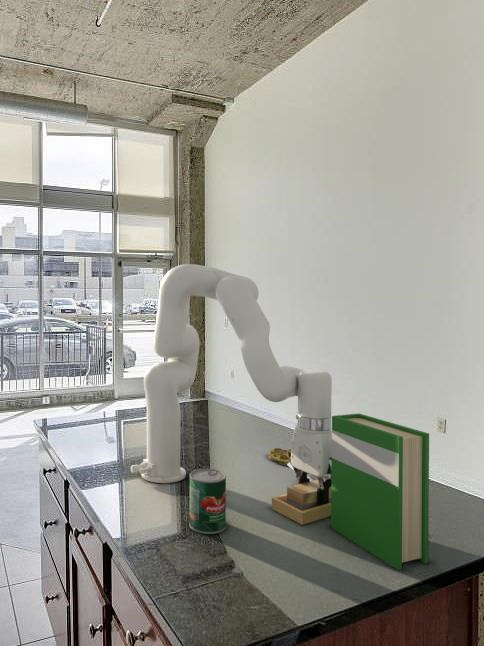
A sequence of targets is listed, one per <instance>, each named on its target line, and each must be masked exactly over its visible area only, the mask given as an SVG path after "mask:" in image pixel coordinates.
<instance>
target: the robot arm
mask: <svg viewBox="0 0 484 646" xmlns="http://www.w3.org/2000/svg"><path fill="white" fill-rule="evenodd" d="M258 287H259V286H258V285H257V284H256V282H255V281H254V280H253V279H252V278H250V277H248V276H243V275H239V274H235V273H232V272H229V271H226V270H221V269H218V268H214V267H212V266H207V265H200V264H194V263H184V264H179V265H176V266H174V267H172V268H171V269H170V270H168V271H167V272H166V273H165V275H164V276H163V277H162V280H161V281H160V285H159V291H158V305H157V312H156V318H155V326H154V333H153V341H152V342H153V343H152V344H153V345H152V346H153V350H154V352H155V354H156V355H157V356H158V357H161V358H162V359H163V358H164V359H167V360H166V361H161V362H157V363H154V364H153V365H151V366H150V367H148V368H147V370H146V371H145V373H144V376H143V389H144V396H145V403H146V458H143V459H142V462H141V463H139V464H134V465H130V467H129V468H130V469H129V470H130V473H132V474H134V473H139V475H140V476H141V478H142V479H143V480H145V481H148V482H151V483H155V484H171V483H177V482H180V481H182V480H184V479H185V478H186V477H187V470H186V469H185V468H184V467H182V466H181V452H182V451H181V449H182V448H181V443H182V441H181V439H182V438H181V437H182V436H181V434H182V433H181V431H182V429H181V428H182V426H181V425H182V424H181V423H182V414H181V413H182V411H181V404H180V401H179V398H178V394H180V393H183V392H185V391H187V390H189V389H190V388H191V387H192V386H193V384H194V382H195V379H196V374H197V369H198V359H199V353H200V352H199V351H200V346H201V345H200V336H199V333H198V331H197V329H196V328H195V327H194V326H193V325H191V324H189V323H188V319H189V318H188V316H189V303H188V298H189V297H205V298H209V299H211V300H215V301H218V303H219V305H220V307H221V309H222V310H223V312H224V314H225V316H226V318H227V319H228V321H229V323H230V325H231V326H232V328H233V331H234V332H235V334H236V336H237V338H238V340H239V341H238V342H239V347H240V351H241V355H242V359H243V363H244V366H245V369H246V370H247V373H248V375H249V377H250V379H251V380H252V382H253V384H254V386H255V388H256V389H257V391H258V392H259V393H260V395H261V396H262V397H263V398H264V399H266V400H267V401H269V402H272V403H280V402H283V401H285V400H288V399H289V398H293V397H297V413H296V415H295V419H296V420H297V425H295V426H294V429H293V433H292V438H291V448H290V449H291V458H290V459H289V462H290V464H291V465H292V467H293V469H294V470H293V469H292V470H293V471H294V473H295V478H296V479H297V481H298V484H302V483H306V482H310V479H309V478H307V477H308V474H311V475H314V476H316V477H317V478H318V483H319V487H320V488H317V505H318V506H321V505H325V504H328V503H329V488H331V478H330V475H329V474H331V476H332V391H333V390H332V389H333V388H332V386H333V383H332V381H333V379H332V375H331V373H329V372H328V371H326V370H322V369H303V368H297V367H293V366H289V365H288V366H287V365H283V366H280V365H279V363H278V361H277V359H276V357H275V356H274V353H273V351H272V348H271V345H270V333H271V332H270V331H271V325H270V322H269V320H268V318H267V317H266V315H265V314H264V311H263V309H262V308H261V306H260V304H259V302H258V300H259V299H258V298H259V288H258ZM323 477H325V482H324V480H323ZM298 484H297V485H298Z"/></svg>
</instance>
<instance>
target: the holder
mask: <svg viewBox="0 0 484 646" xmlns="http://www.w3.org/2000/svg"><path fill="white" fill-rule="evenodd" d="M271 509H272V510H273V511H275V512H277V513H279V514H281V515H283V516H285V517H286V518H288V519H290V520H292V521H295V522H296V523H298V524H300V525H306V524H310V523H313V522H316V521H319V520H324V519H326V518H329V517H331V502H330V503H328V504H325V505H321V506H316V507H313V508H309V509H306V510H301V509H299V508H297V507H295V506H293V505H291V504H289V503H287V493H285V494H281V495H277V496H273V497H271Z"/></svg>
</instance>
